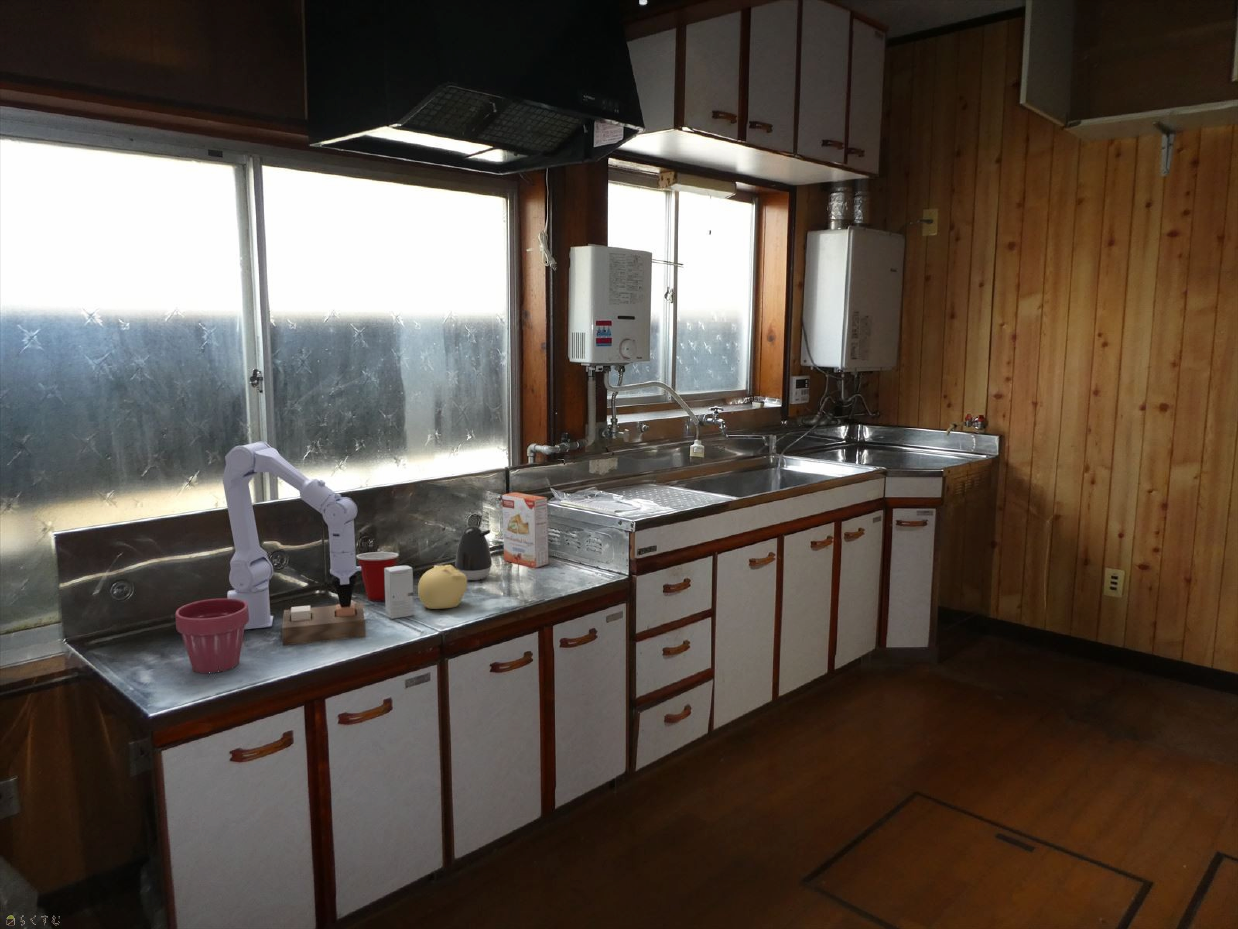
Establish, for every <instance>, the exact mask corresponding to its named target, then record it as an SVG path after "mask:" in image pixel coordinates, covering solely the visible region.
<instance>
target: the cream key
mask: <svg viewBox="0 0 1238 929" xmlns="http://www.w3.org/2000/svg"><path fill="white" fill-rule="evenodd" d="M310 608H311V605H300V606H299V605H298V606H291V608H290V610H291V621H299V620H310V619H311V610H310Z"/></svg>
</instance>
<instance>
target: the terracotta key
mask: <svg viewBox="0 0 1238 929" xmlns="http://www.w3.org/2000/svg"><path fill="white" fill-rule="evenodd" d="M355 604H356V603H355V602H351V605H350V607H341V606H340V603H339V604H335V605H336V614H337V617H341V616H351V615H355Z"/></svg>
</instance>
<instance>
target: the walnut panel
mask: <svg viewBox="0 0 1238 929" xmlns="http://www.w3.org/2000/svg"><path fill="white" fill-rule="evenodd" d="M354 604H355V615H351V616H341V617H337V614H336V605H337V604H335V605H328V606H327V605H325V606H314V607H310V610H311V619H310V620H299V621H291V609H284V610H283V616H282V625H281V634H282V635H281V637H282V638H281V639H282V646H287V645H297V644H307V643H308V644H309V643H317V642H318V643H319V642H326V641H335V640H345V639H356V638H363V637H364V638H365V637H366V622H365V615H364V608H363V603H362V602H359V603H354Z"/></svg>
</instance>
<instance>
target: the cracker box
mask: <svg viewBox="0 0 1238 929" xmlns="http://www.w3.org/2000/svg"><path fill="white" fill-rule="evenodd" d="M501 497H502V499H501V500H502V501H501V502H502V503H501V504H502V532H503V533H502V535H503V536H502V537H503V538H502V540H503V561H505V562H510V563H513V564H517V565H522V566H525V567H529V568H533V569H538V568H541V567H544V566H548V565H549V522H548V520H549V518H548V516H549V515H548V514H549V513H548V497H545V496H540V495H533V494H528V493H527V494H526V493H521V492H510V493H504V494H502V496H501Z"/></svg>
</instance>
